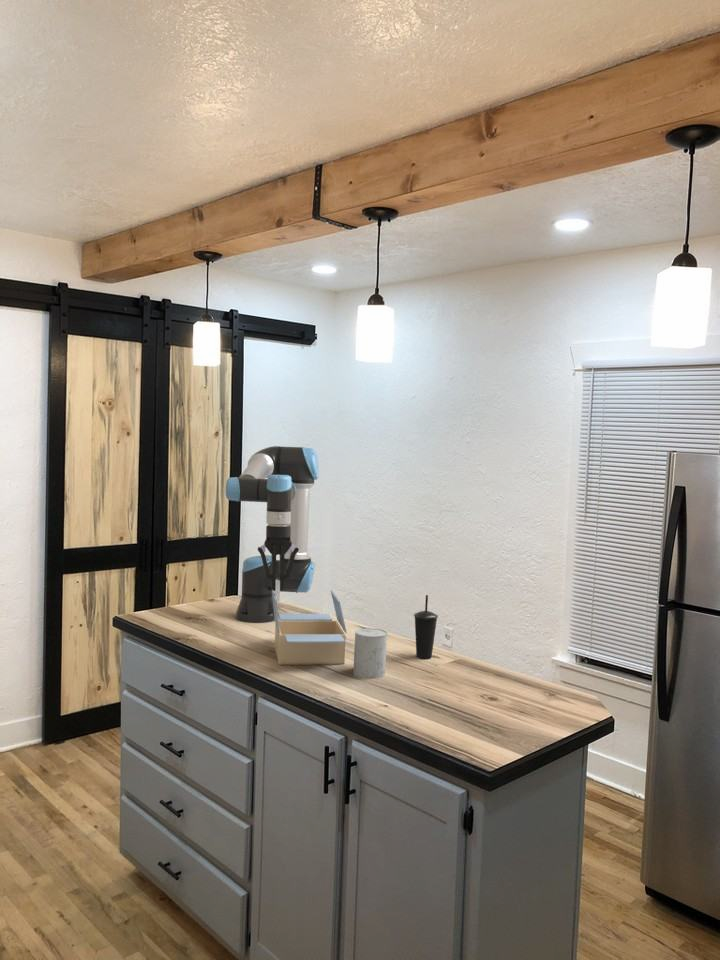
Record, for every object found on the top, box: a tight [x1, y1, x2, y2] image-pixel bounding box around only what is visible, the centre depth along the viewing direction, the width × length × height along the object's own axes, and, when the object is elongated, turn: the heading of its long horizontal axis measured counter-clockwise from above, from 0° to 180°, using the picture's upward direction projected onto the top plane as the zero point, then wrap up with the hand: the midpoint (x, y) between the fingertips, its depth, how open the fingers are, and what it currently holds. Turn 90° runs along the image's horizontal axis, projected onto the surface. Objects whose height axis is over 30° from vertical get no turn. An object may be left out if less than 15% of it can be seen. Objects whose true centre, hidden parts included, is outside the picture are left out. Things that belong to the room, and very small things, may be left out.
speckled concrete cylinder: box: [352, 627, 388, 680], centre depth 225 cm, size 10×10×12 cm
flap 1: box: [272, 590, 280, 633], centre depth 237 cm, size 17×10×1 cm
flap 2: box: [330, 589, 347, 634], centre depth 241 cm, size 17×10×1 cm
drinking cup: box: [413, 594, 439, 660], centre depth 244 cm, size 8×8×20 cm
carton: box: [274, 613, 347, 666], centre depth 240 cm, size 34×20×9 cm, turn 10°
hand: (277, 600), depth 237 cm, fingers closed
